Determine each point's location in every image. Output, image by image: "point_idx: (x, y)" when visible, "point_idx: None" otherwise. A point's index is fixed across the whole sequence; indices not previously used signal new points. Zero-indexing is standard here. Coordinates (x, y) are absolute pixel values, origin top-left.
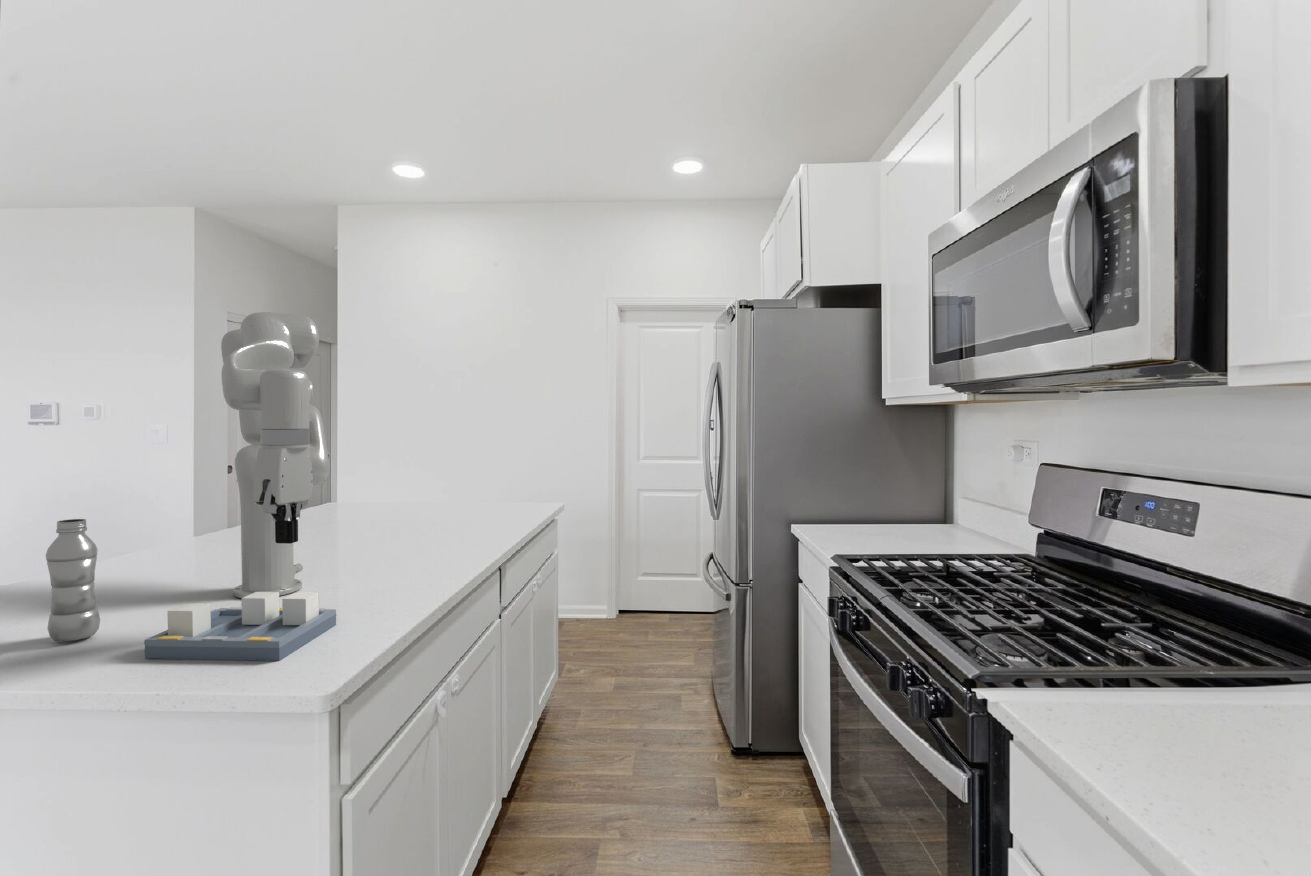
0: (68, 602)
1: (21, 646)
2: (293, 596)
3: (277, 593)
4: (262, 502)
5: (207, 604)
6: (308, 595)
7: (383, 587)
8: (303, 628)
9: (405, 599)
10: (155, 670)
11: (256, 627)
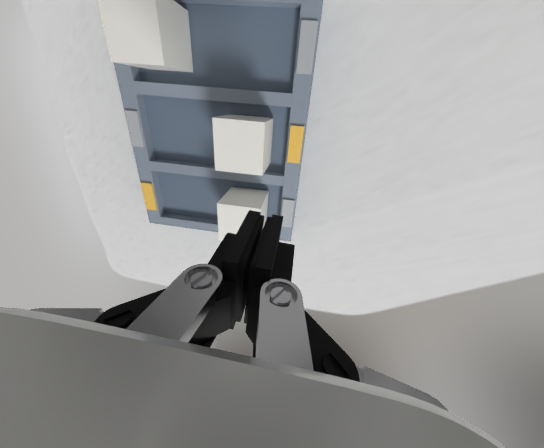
0: None
1: None
2: (232, 215)
3: (257, 174)
4: (36, 326)
5: (157, 63)
6: None
7: (525, 240)
8: (203, 229)
9: (411, 284)
10: (97, 61)
11: None
